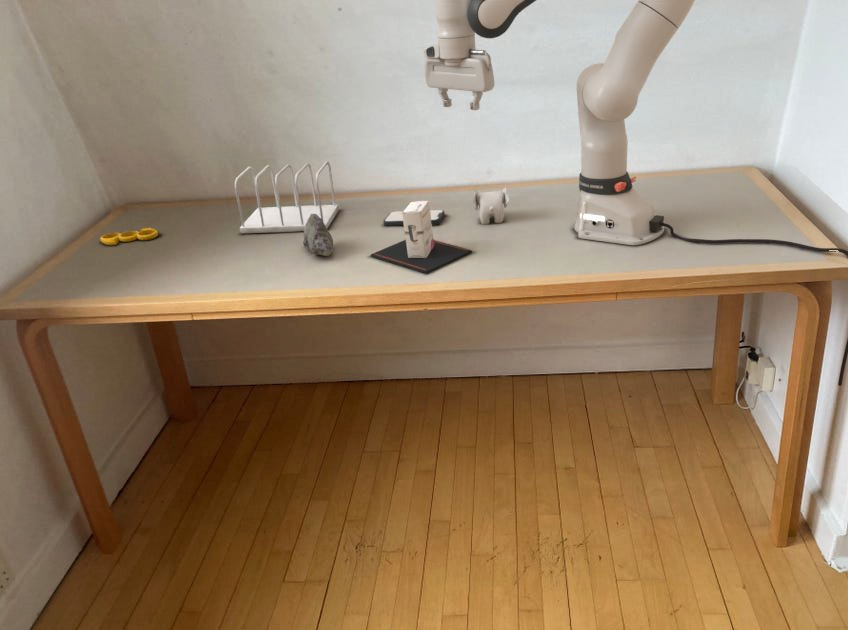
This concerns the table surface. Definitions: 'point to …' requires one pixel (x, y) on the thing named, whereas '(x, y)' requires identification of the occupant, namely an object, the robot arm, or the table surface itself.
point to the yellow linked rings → (129, 236)
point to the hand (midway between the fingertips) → (461, 108)
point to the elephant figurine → (491, 205)
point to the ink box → (418, 229)
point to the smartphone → (397, 218)
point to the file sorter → (286, 207)
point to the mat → (434, 260)
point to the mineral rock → (317, 236)
